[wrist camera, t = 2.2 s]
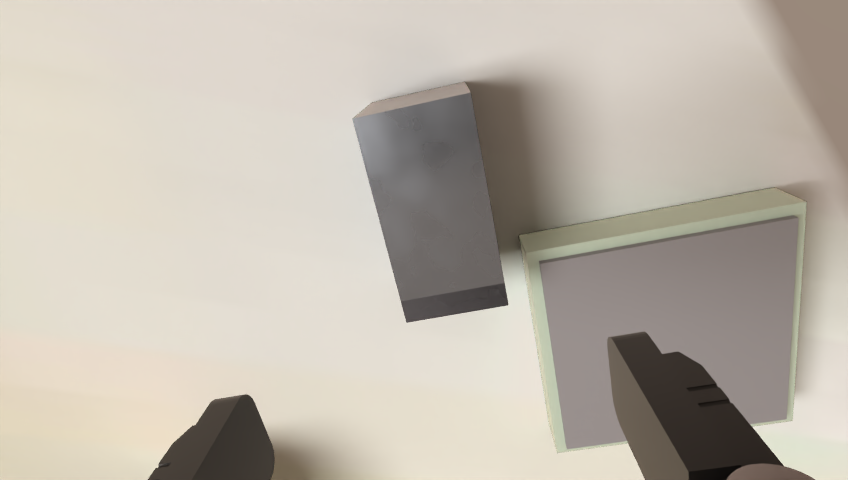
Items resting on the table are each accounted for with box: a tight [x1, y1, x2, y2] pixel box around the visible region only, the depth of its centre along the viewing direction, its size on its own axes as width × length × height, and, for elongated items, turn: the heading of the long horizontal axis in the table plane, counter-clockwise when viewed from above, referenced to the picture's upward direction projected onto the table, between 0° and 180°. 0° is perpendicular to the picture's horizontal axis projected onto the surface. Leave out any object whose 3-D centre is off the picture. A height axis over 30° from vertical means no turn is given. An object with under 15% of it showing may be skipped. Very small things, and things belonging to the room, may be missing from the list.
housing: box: [353, 82, 508, 322], centre depth 25 cm, size 10×5×6 cm, turn 12°
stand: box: [519, 187, 807, 453], centre depth 29 cm, size 14×14×3 cm
